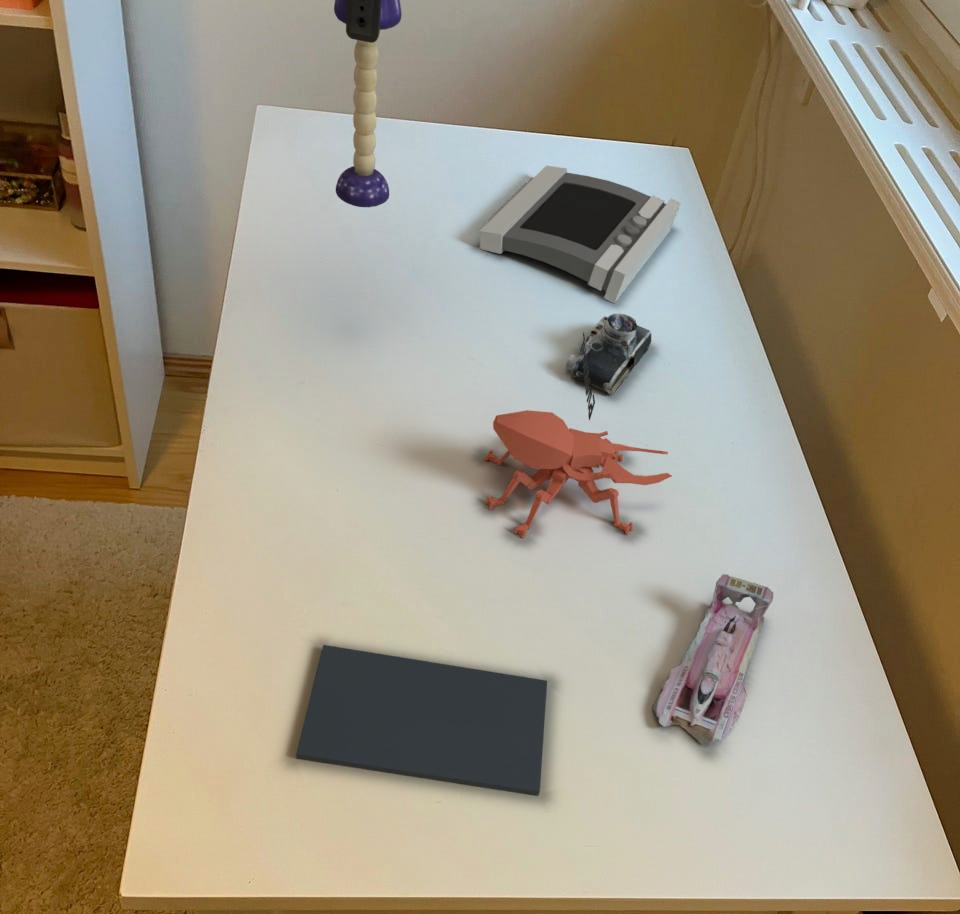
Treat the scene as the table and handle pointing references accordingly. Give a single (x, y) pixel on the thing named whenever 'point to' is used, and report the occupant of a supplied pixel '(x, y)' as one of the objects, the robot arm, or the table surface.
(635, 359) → the camera
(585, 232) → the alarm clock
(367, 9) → the robot arm
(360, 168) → the toy lamp
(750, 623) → the boxed toy car
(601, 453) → the beetle
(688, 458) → the table surface
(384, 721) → the mat
